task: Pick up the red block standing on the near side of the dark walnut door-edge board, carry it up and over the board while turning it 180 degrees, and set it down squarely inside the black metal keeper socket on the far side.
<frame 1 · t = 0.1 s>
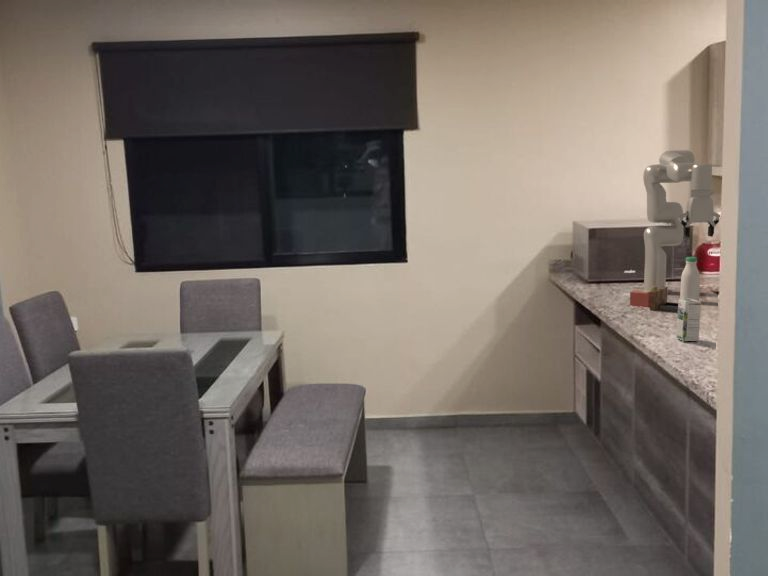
hand: (698, 236, 308), 31 cm above the countertop, tool pointing down, fingers open, 9 cm apart
syrup box: (687, 341, 265), on the countertop
milk bottle: (689, 302, 332), on the countertop
door board: (658, 307, 322), on the countertop
keeper: (676, 309, 317), on the countertop
red block: (640, 305, 328), on the countertop
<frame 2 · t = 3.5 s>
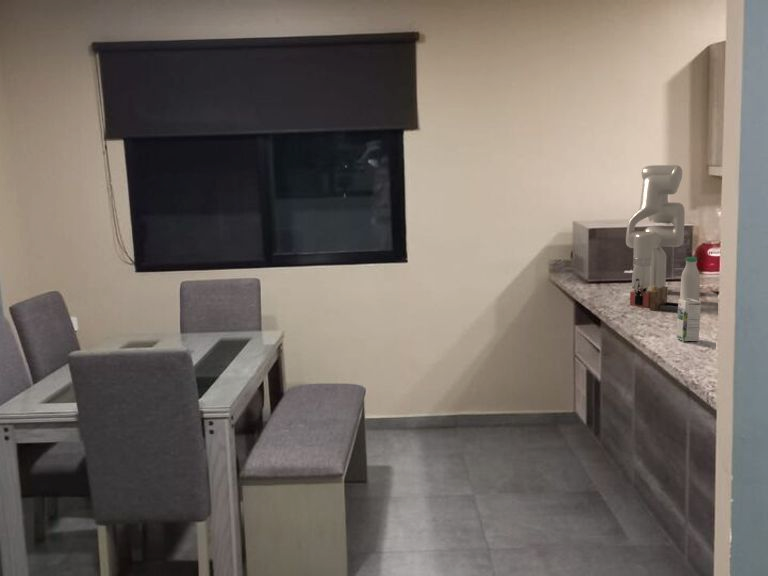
hand: (640, 303, 327), 1 cm above the countertop, tool pointing down, fingers closed on red block, 4 cm apart
red block: (640, 305, 328), on the countertop, touching gripper
everything else where it was.
when the fingers open (3 cm above the countertop, at t = 8.9 s): red block drops 2 cm, resting on keeper.
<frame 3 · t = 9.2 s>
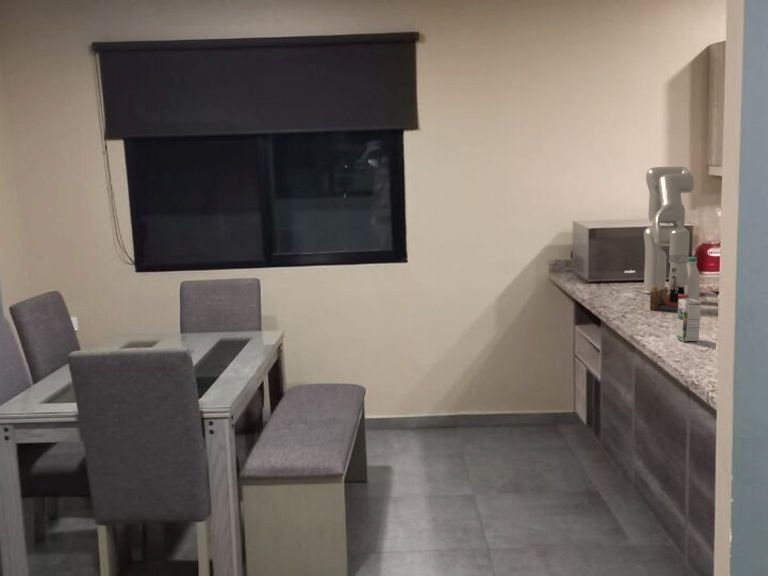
hand: (676, 300, 317), 4 cm above the countertop, tool pointing down, fingers open, 7 cm apart
red block: (676, 308, 317), resting on keeper
everything else where it was.
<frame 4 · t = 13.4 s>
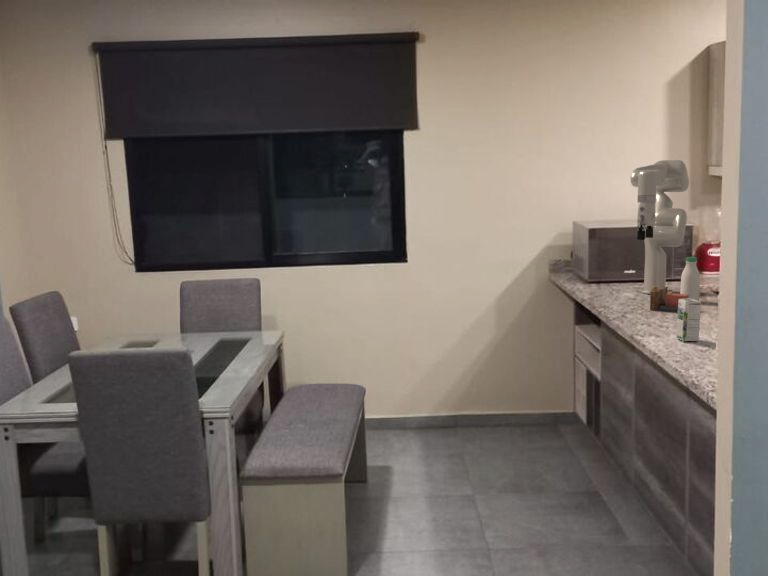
hand: (645, 238, 330), 28 cm above the countertop, tool pointing down, fingers open, 9 cm apart
nothing on the countertop moved.
at the end: red block 0.1 cm off-centre on the keeper, point 0.4 cm above the keeper's base; red block tilted 0°; the gripper is holding nothing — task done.
